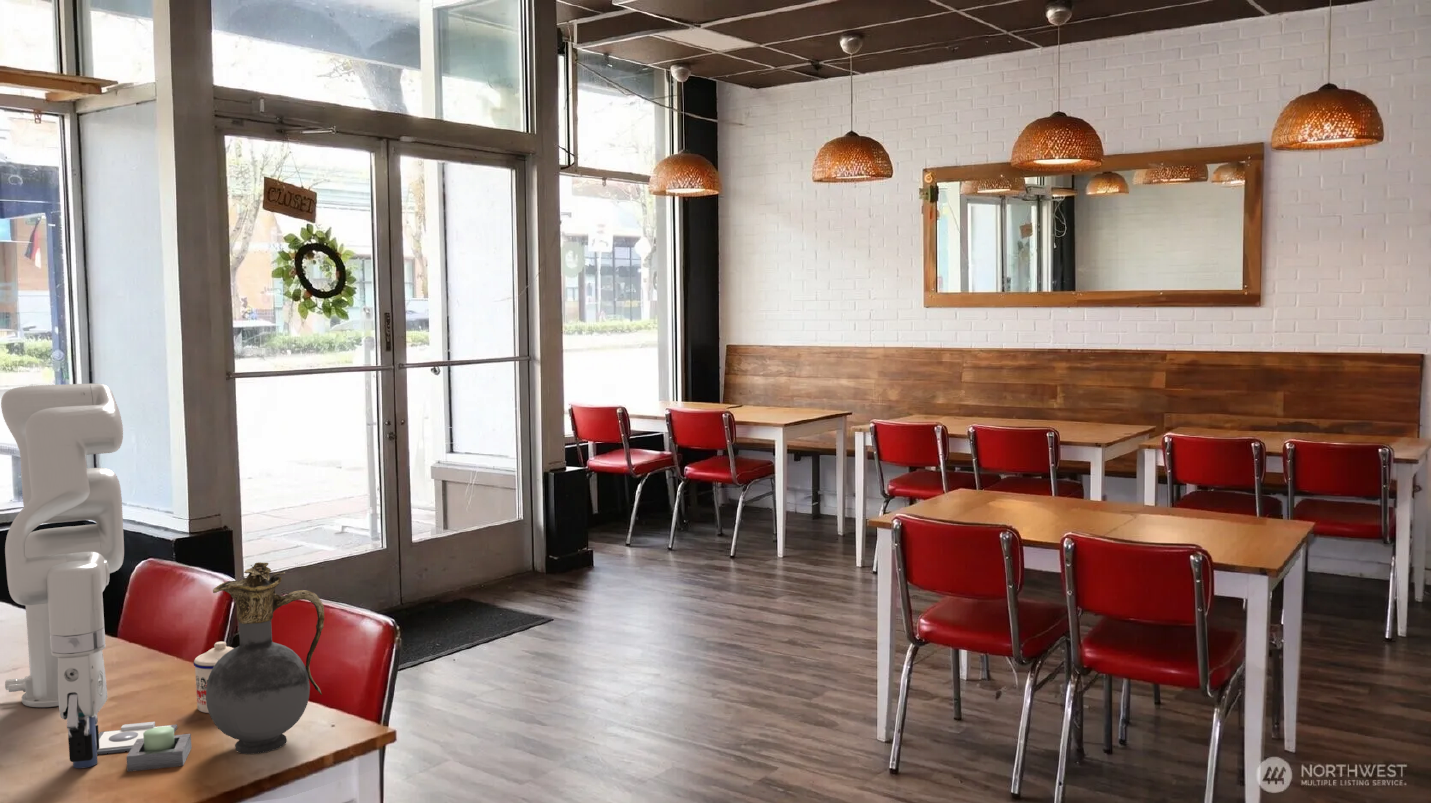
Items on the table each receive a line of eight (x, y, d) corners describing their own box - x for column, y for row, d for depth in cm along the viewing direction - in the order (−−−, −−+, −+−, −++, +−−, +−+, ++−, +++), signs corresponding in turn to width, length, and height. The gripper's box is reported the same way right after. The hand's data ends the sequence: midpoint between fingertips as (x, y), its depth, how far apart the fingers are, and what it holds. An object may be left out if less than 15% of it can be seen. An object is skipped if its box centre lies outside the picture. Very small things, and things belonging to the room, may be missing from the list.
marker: (69, 769, 187) (66, 710, 186) (75, 761, 190) (72, 702, 189) (95, 767, 187) (91, 707, 187) (100, 758, 191) (97, 700, 190)
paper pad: (85, 755, 193) (85, 748, 193) (100, 734, 203) (100, 727, 202) (166, 747, 196) (166, 739, 196) (177, 726, 206) (177, 719, 205)
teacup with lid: (185, 708, 215) (182, 644, 214) (232, 695, 223) (229, 633, 222) (222, 721, 208) (219, 655, 207) (269, 706, 215) (266, 643, 214)
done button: (141, 756, 188) (140, 737, 187) (147, 746, 192) (146, 728, 192) (172, 753, 189) (171, 734, 189) (177, 743, 193) (176, 725, 193)
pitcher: (201, 748, 195) (192, 566, 193) (318, 722, 207) (311, 550, 204) (219, 767, 187) (209, 577, 184) (340, 739, 198) (332, 560, 196)
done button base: (127, 771, 186) (126, 756, 185) (138, 753, 193) (137, 739, 193) (183, 765, 188) (182, 750, 187) (191, 748, 195) (190, 733, 195)
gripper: (91, 653, 180) (98, 772, 182) (116, 625, 196) (122, 735, 198) (36, 658, 178) (43, 778, 180) (65, 629, 194) (72, 740, 196)
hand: (84, 754), depth 189 cm, fingers closed on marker, 3 cm apart
